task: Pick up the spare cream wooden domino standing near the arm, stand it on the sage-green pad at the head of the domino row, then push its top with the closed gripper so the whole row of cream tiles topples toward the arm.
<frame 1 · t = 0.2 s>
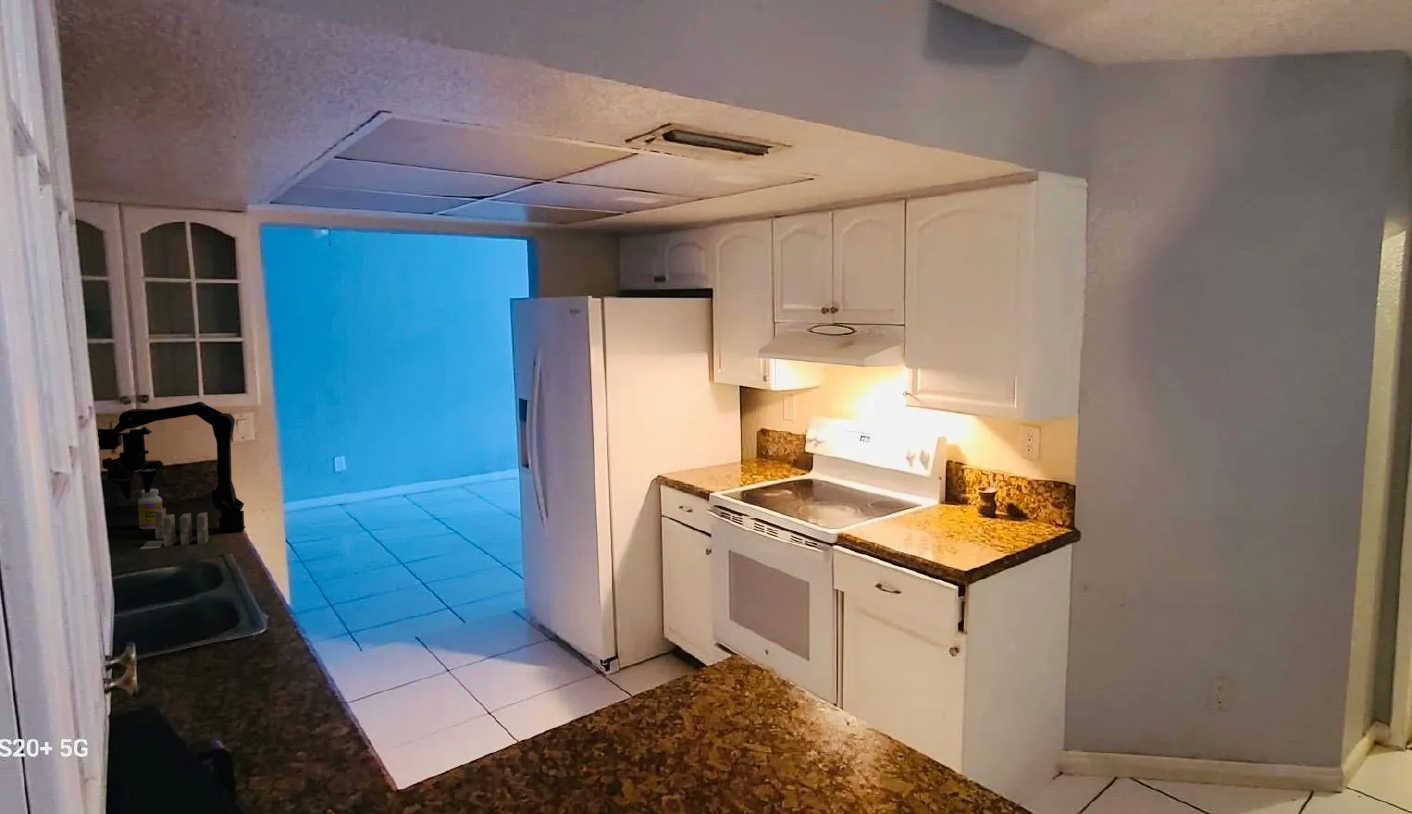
hand: (137, 495, 253), 14 cm above the table, fingers open, 9 cm apart
gap pad: (153, 545, 247), on the table
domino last: (203, 541, 252), on the table
supplement bottle: (151, 527, 266), on the table
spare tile: (161, 536, 256), on the table
domino a: (170, 544, 248), on the table
domino b: (186, 542, 250), on the table
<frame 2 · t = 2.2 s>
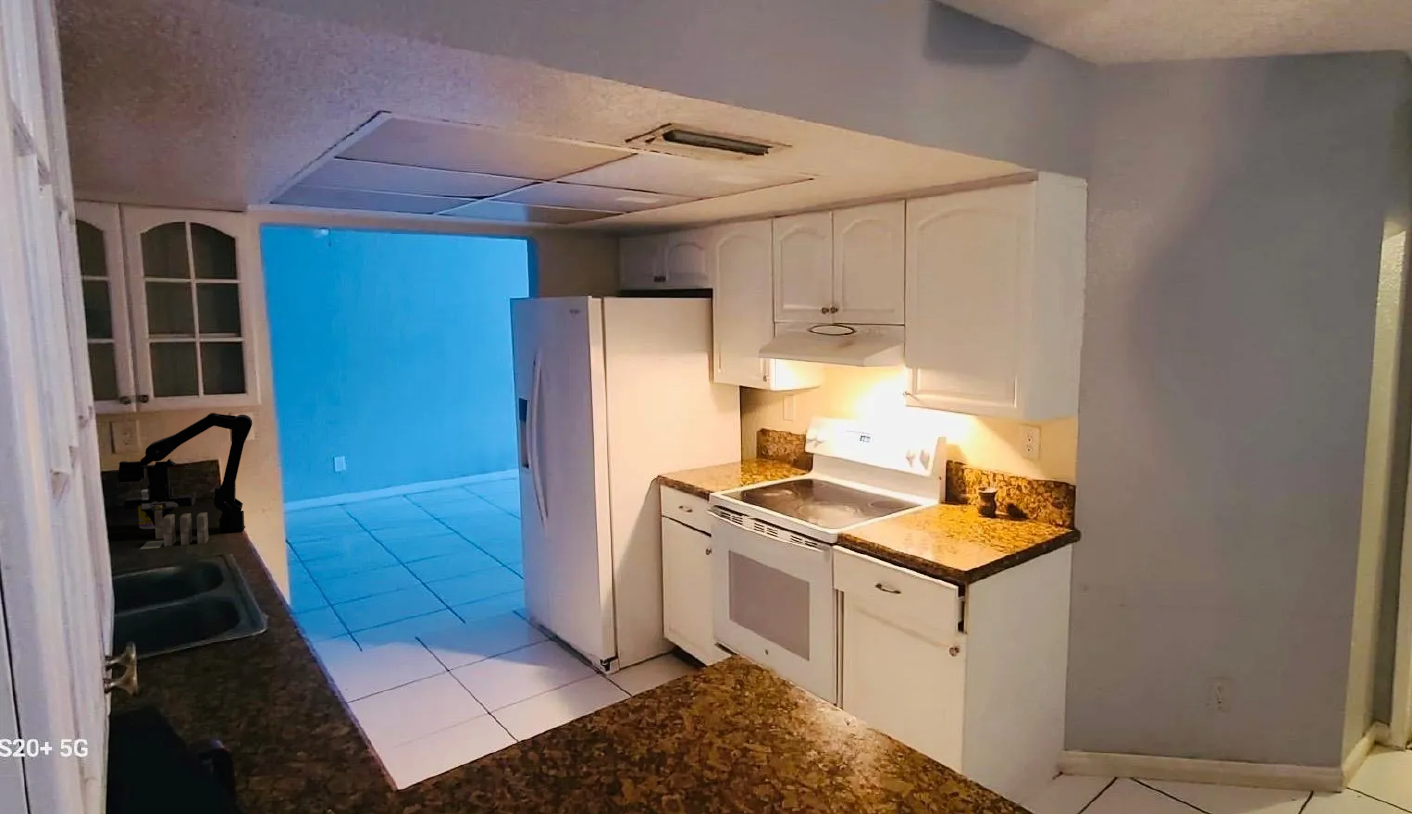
hand: (161, 527, 255), 3 cm above the table, fingers closed on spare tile, 2 cm apart
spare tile: (161, 536, 256), on the table, touching gripper
everything else where it was.
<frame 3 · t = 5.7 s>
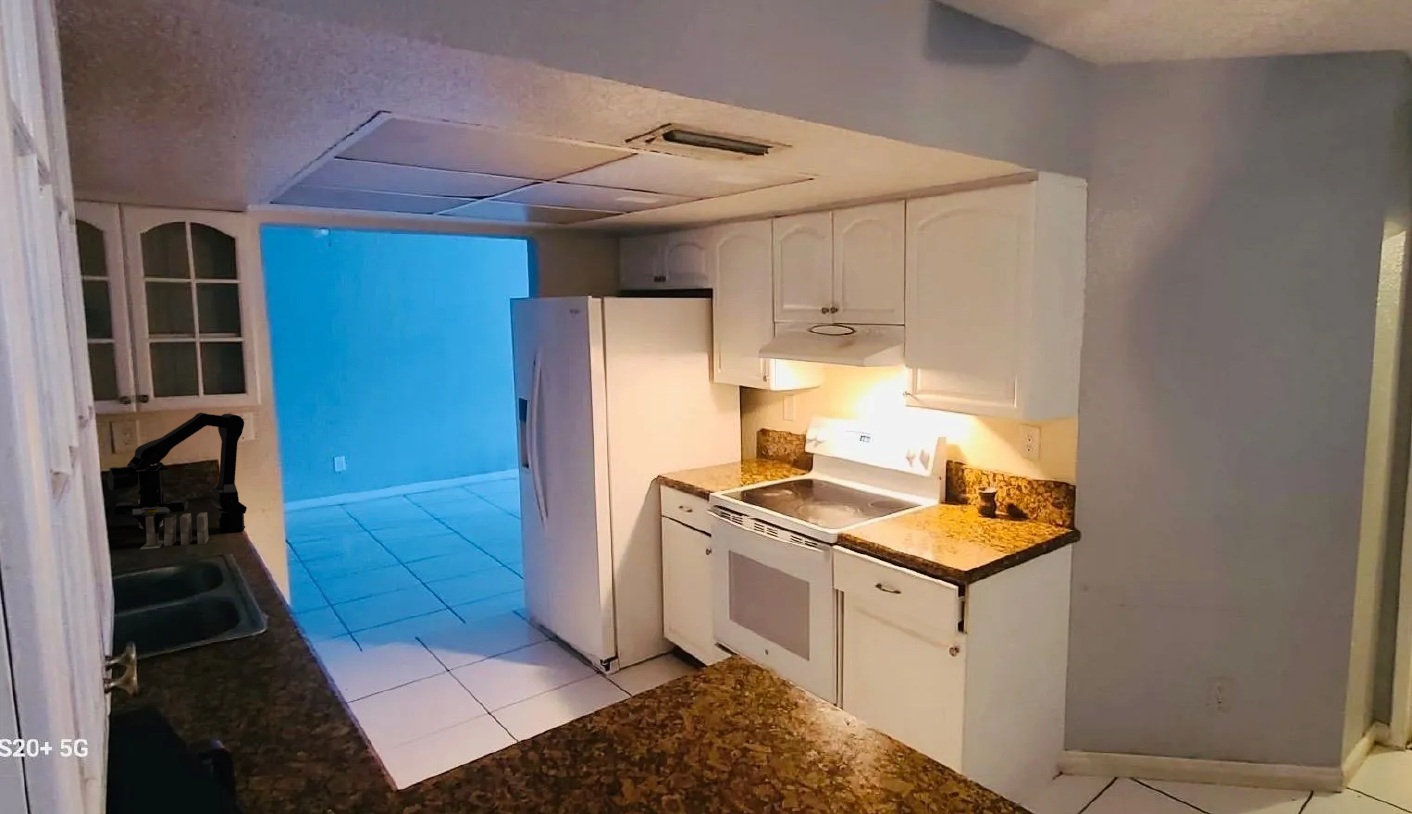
hand: (152, 533, 246), 4 cm above the table, fingers closed on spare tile, 2 cm apart
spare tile: (153, 543, 247), point 1 cm above the table, touching gripper
everything else where it was.
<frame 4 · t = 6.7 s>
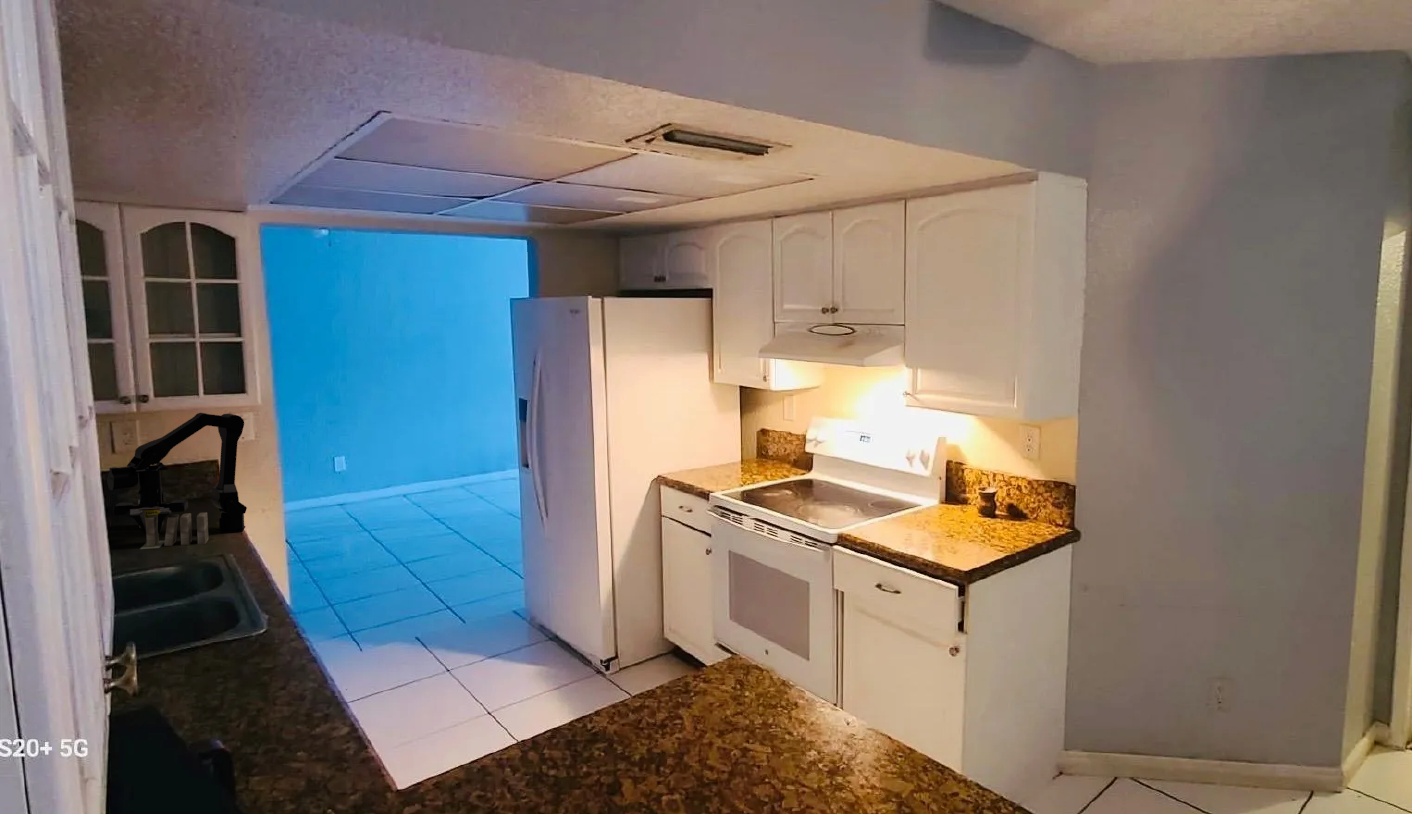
hand: (152, 533, 246), 4 cm above the table, fingers open, 3 cm apart
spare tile: (153, 544, 247), resting on gap pad
everything else where it was.
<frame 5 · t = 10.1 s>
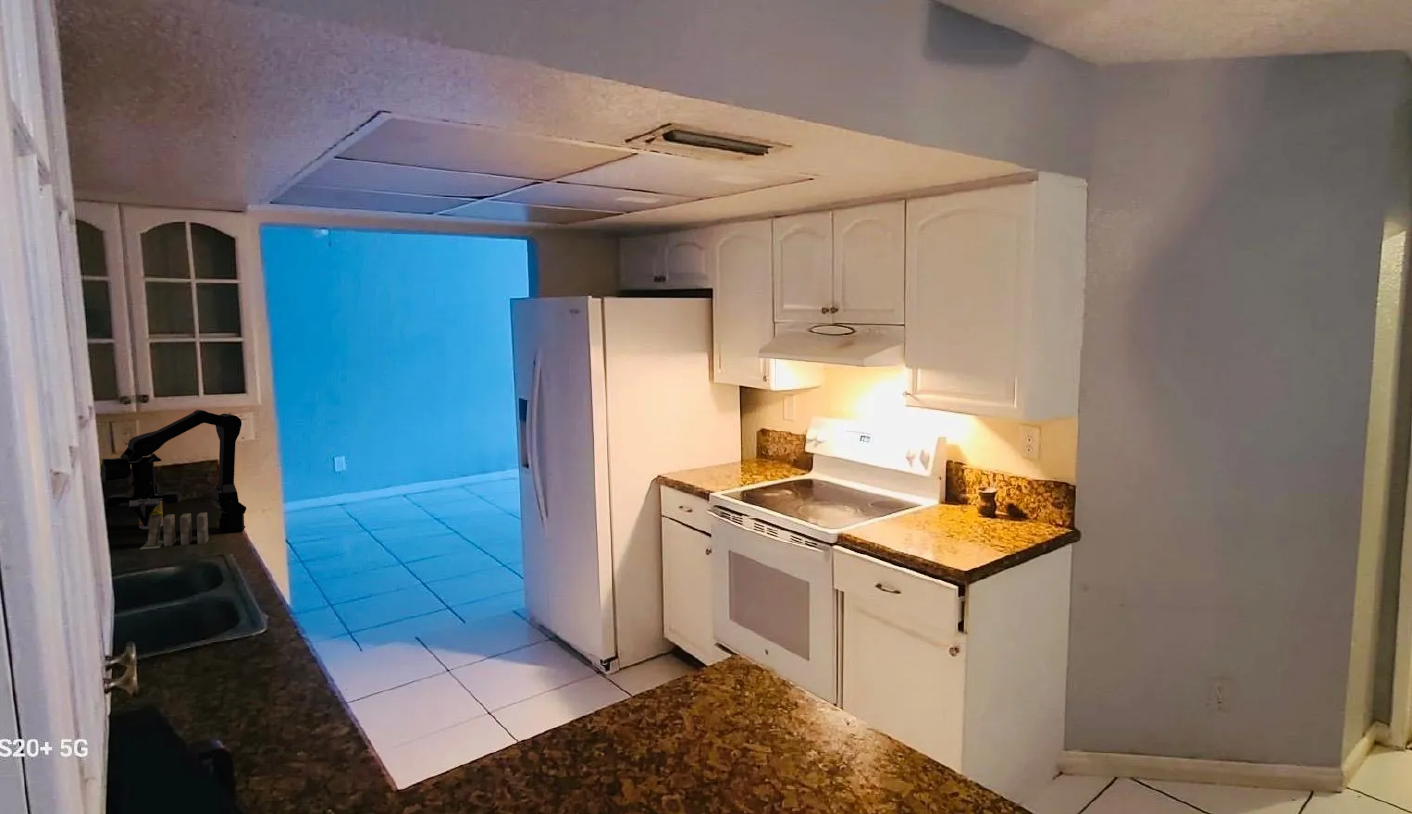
hand: (146, 525, 245), 6 cm above the table, fingers closed
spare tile: (153, 544, 247), resting on gap pad, tilted 8°
domino a: (170, 544, 248), on the table
everything else where it was.
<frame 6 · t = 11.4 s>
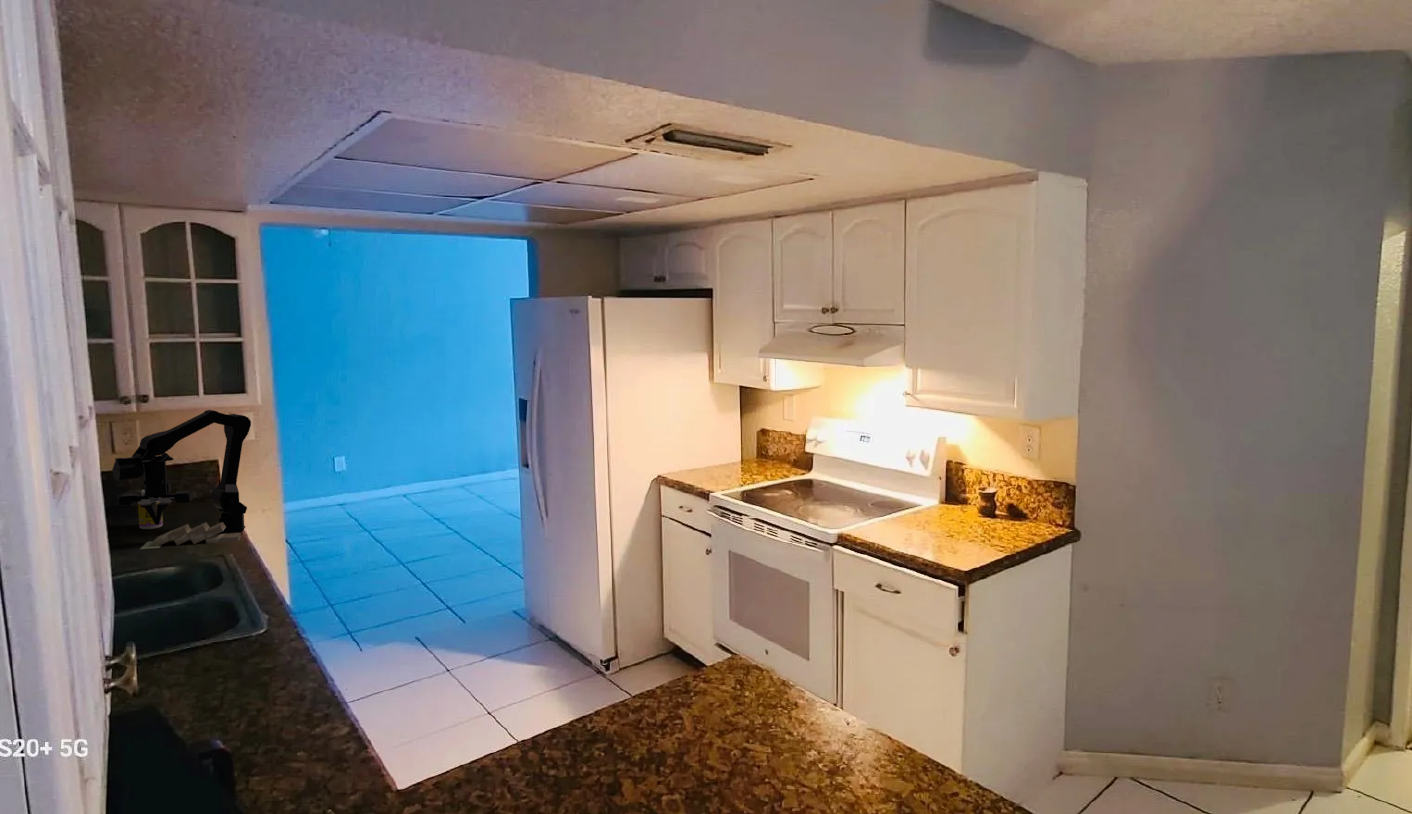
hand: (157, 524, 246), 7 cm above the table, fingers closed
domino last: (207, 540, 252), on the table, tilted 89°
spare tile: (157, 541, 247), point 1 cm above the table, tilted 67°, touching domino a, gap pad
domino a: (177, 540, 249), point 1 cm above the table, tilted 64°, touching domino b, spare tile
domino b: (193, 539, 251), point 1 cm above the table, tilted 66°, touching domino a
everything else where it was.
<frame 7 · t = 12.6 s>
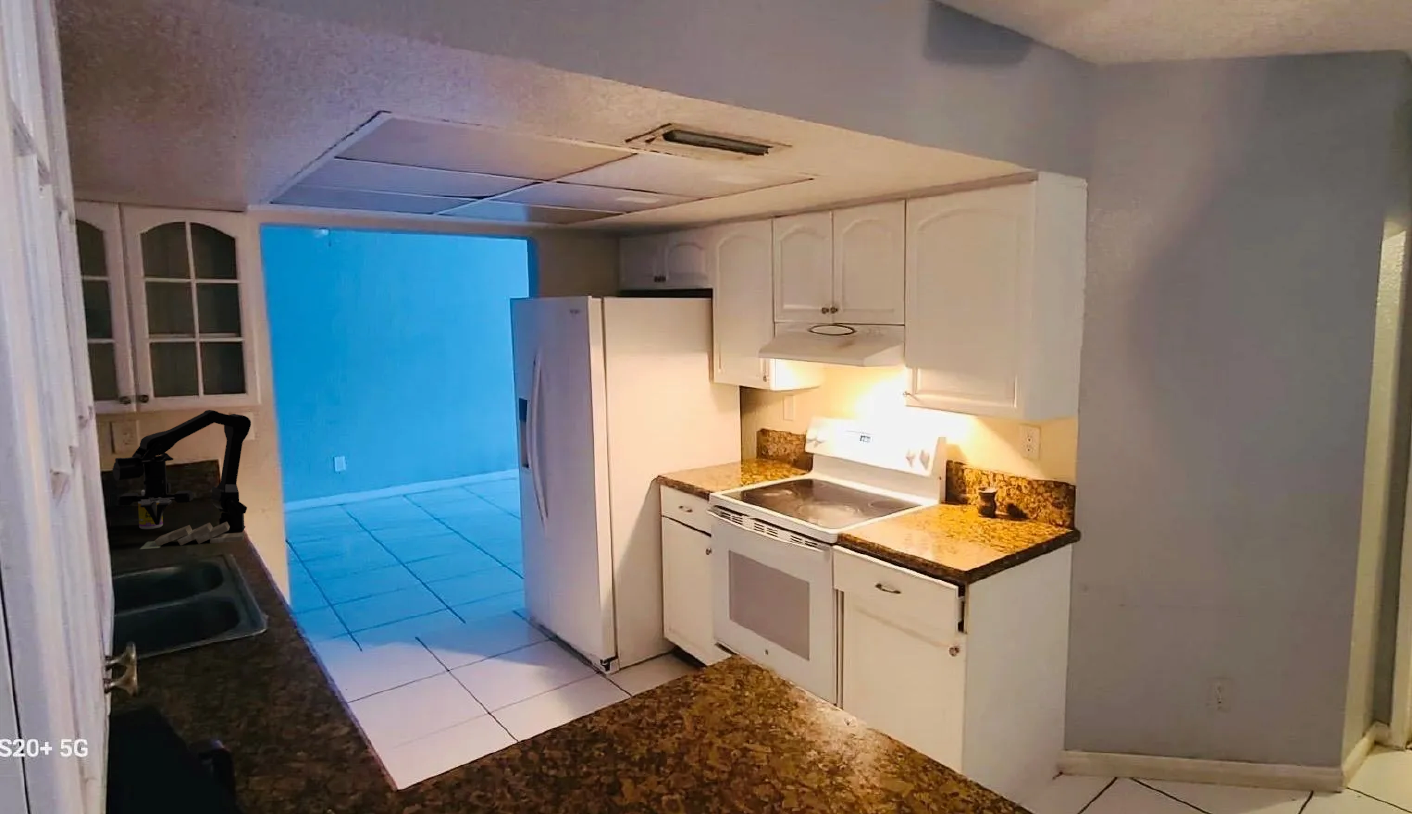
hand: (157, 524, 246), 7 cm above the table, fingers closed
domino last: (211, 539, 252), on the table, tilted 90°, touching domino b
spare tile: (158, 541, 247), point 1 cm above the table, tilted 69°, touching gap pad
domino a: (180, 540, 249), point 1 cm above the table, tilted 65°, touching domino b
domino b: (198, 539, 251), point 1 cm above the table, tilted 66°, touching domino a, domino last
everything else where it was.
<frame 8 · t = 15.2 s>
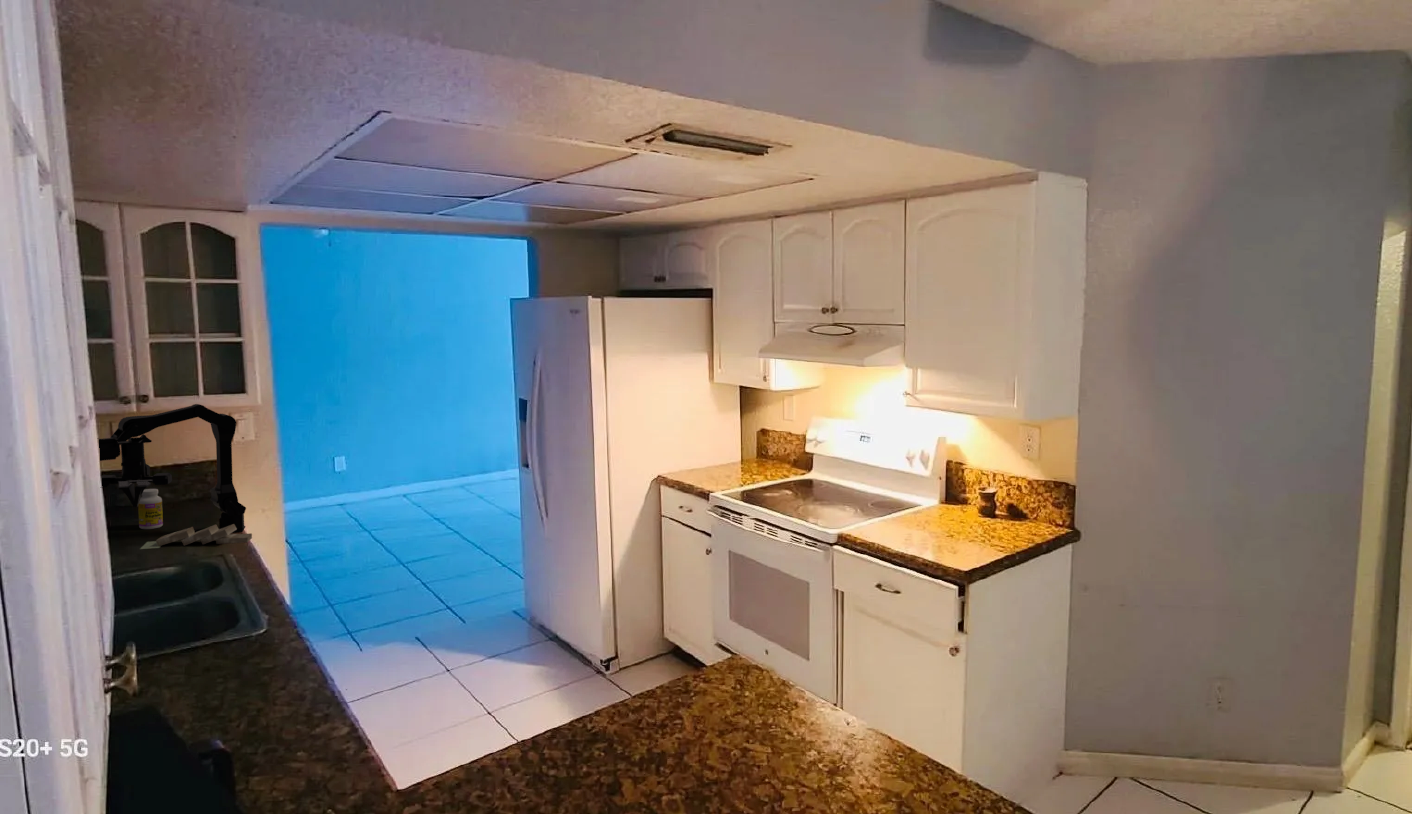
hand: (135, 507, 244), 12 cm above the table, fingers closed
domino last: (218, 539, 252), point 1 cm above the table, tilted 90°, touching domino b
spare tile: (160, 541, 247), point 1 cm above the table, tilted 73°, touching domino a, gap pad
domino a: (186, 540, 249), point 1 cm above the table, tilted 67°, touching domino b, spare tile
domino b: (206, 538, 251), point 1 cm above the table, tilted 68°, touching domino a, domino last
everything else where it was.
at the end: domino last tilted 90°; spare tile tilted 73°; the gripper is holding nothing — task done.
